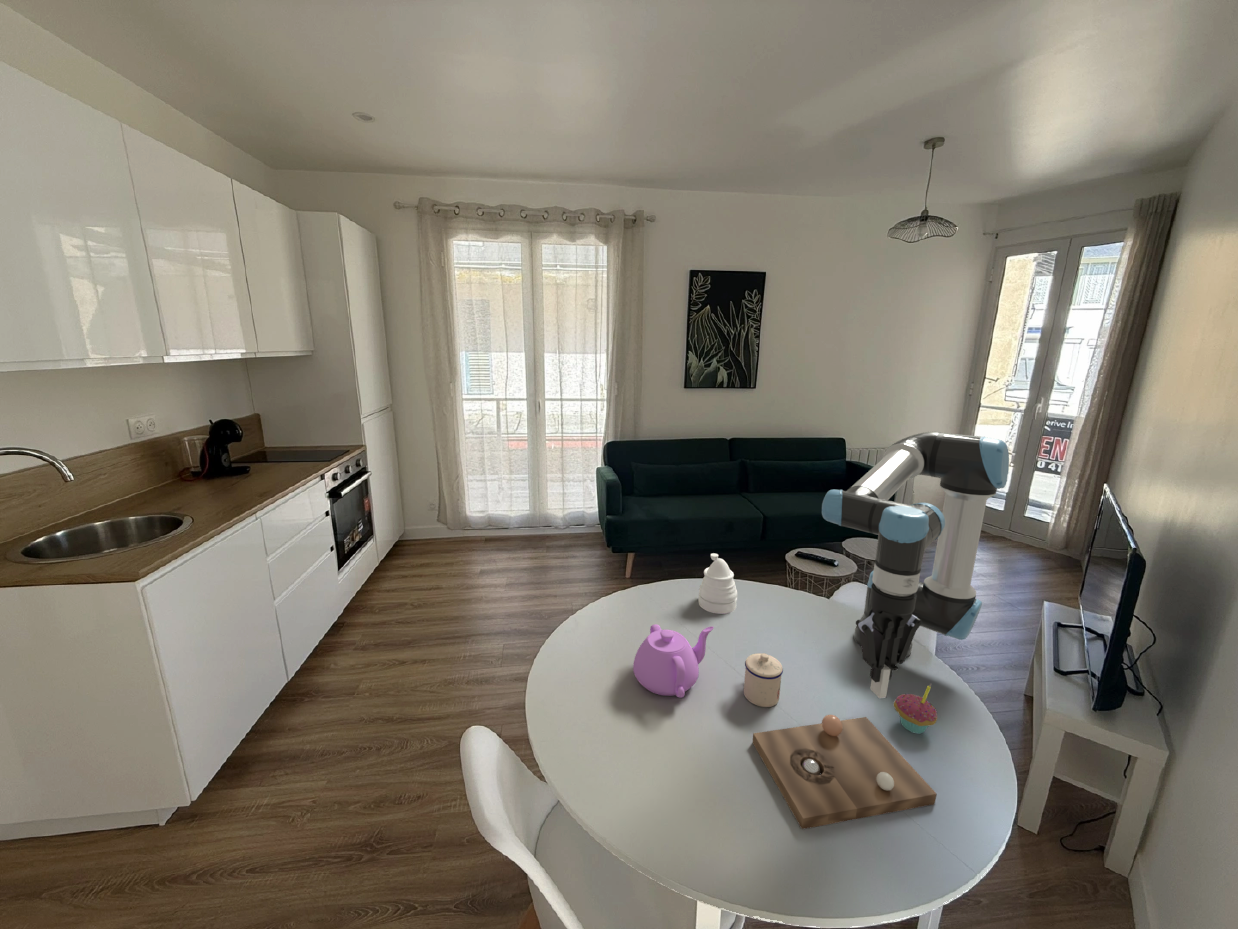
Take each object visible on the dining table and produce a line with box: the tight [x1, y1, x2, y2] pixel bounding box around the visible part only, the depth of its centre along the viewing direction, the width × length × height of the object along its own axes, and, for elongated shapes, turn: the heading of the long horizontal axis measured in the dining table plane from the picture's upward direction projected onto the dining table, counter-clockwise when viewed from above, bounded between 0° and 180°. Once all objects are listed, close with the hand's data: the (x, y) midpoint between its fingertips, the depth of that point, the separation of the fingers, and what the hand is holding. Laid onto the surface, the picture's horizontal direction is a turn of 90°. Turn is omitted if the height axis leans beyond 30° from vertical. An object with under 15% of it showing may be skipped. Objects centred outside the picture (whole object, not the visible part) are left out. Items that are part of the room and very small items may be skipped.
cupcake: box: [893, 683, 938, 734], centre depth 110 cm, size 9×8×12 cm
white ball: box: [876, 772, 894, 791], centre depth 92 cm, size 3×3×3 cm
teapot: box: [632, 623, 715, 698], centre depth 125 cm, size 22×22×14 cm
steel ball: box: [802, 759, 821, 776], centre depth 97 cm, size 4×4×4 cm
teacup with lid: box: [743, 653, 784, 708], centre depth 121 cm, size 12×9×12 cm
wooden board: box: [752, 716, 937, 830], centre depth 99 cm, size 28×20×2 cm
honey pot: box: [697, 552, 738, 615], centre depth 162 cm, size 13×13×18 cm
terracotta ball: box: [821, 714, 843, 736], centre depth 105 cm, size 4×4×4 cm
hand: (878, 693), depth 96 cm, fingers closed
